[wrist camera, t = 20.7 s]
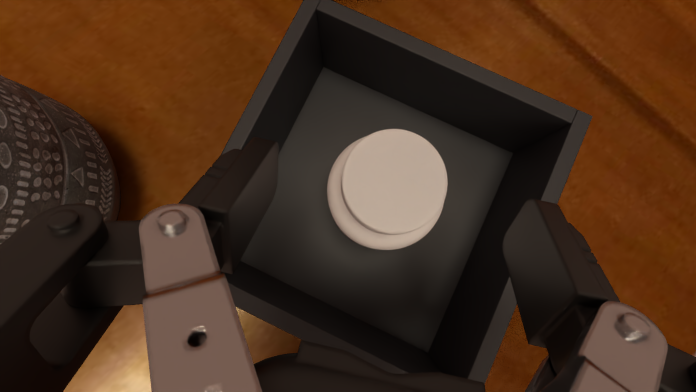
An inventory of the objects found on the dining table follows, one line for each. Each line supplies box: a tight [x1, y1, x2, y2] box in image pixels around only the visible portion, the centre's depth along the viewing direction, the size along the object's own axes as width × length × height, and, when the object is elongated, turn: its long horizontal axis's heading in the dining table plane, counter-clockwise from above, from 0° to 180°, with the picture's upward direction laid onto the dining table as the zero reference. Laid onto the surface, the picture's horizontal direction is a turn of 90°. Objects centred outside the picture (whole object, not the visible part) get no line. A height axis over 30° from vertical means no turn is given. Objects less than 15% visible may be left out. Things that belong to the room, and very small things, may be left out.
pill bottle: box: [327, 129, 448, 250], centre depth 17 cm, size 5×5×10 cm
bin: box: [220, 0, 592, 384], centre depth 20 cm, size 16×16×7 cm
